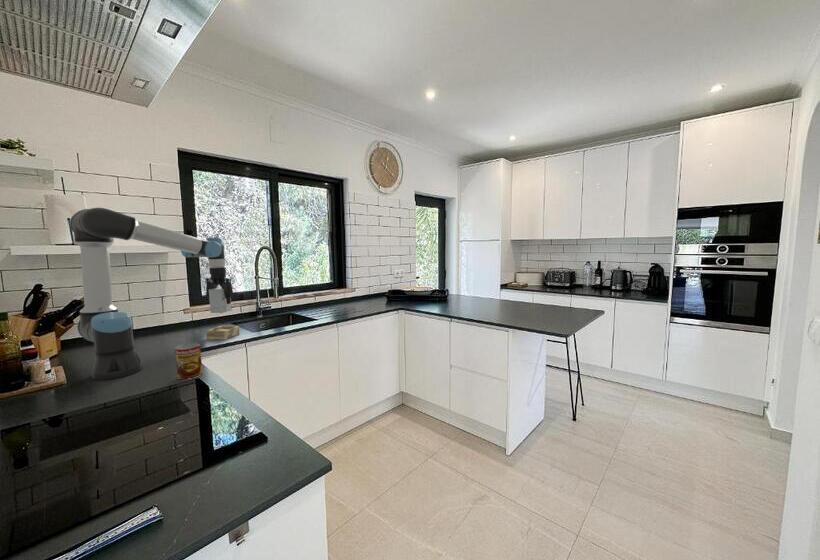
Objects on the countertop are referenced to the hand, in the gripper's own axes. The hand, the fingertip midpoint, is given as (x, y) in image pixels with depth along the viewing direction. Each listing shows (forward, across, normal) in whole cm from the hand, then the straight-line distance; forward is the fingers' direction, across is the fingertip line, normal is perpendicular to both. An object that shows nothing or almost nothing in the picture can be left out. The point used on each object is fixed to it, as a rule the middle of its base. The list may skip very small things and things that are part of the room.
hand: (221, 309), depth 182 cm
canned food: (+15, -27, +49) cm, 58 cm away
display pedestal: (+15, 0, 0) cm, 15 cm away
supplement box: (+1, 0, 0) cm, 1 cm away
